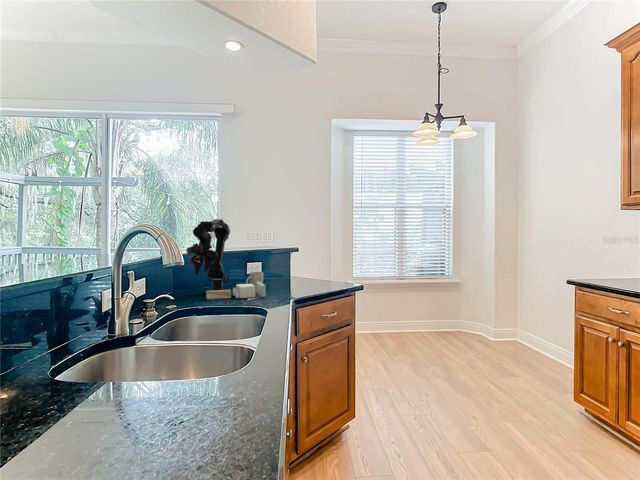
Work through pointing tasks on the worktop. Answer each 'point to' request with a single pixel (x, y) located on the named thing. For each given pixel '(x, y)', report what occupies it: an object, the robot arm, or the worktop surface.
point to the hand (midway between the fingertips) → (200, 273)
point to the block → (244, 290)
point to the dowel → (218, 294)
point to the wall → (261, 289)
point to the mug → (255, 278)
